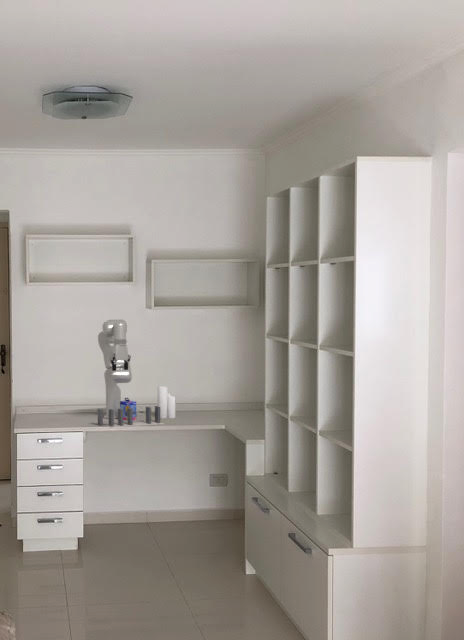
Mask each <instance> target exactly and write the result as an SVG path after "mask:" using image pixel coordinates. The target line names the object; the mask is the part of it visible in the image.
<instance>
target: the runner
mask: <svg viewBox="0 0 464 640" xmlns="http://www.w3.org/2000/svg"><path fill="white" fill-rule="evenodd" d="M152 425H153V426H154V425H155V426H156V425H165V423H164V422H161V421H160V423H156V422H155V420H154V421H151V424H147V423H146V421H143V422H142V421H141V422H140V421H139V422H133V425H128V424H127V422H126V423H125V422H124V423H123V426H120V425H118V423H114V426H113V427H111V426H109V424H104V426H106V427H108V428H121V427H122V428H124V427H125V428H126V427H136V426H137V427H140V426H152Z"/></svg>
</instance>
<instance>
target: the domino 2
mask: <svg viewBox="0 0 464 640" xmlns="http://www.w3.org/2000/svg"><path fill="white" fill-rule="evenodd" d="M114 424H115V418H114V410H113V409H109V418H108V425H109V426H111V427H113V426H114ZM113 428H114V427H113Z"/></svg>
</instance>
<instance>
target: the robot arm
mask: <svg viewBox="0 0 464 640" xmlns="http://www.w3.org/2000/svg"><path fill="white" fill-rule="evenodd" d="M127 331H128V324H127V321H126V320H125V319H108V320H106V321H103V323H102V331H101V332H99V333H98V334H97V339H98V340H97V343H98V345H99V348H100V350H101V352H102V355H103V361H104V366H105V368H106V369H105V371H104V375H103V377H104V382H105V384H104V385H105V414H104V415H103V419H109V409H113V410H114V419H118V408H120V401H122V393H121V391H122V390H121V388H120V387H119V385H118V384H128V383H130V382H131V381H132V379H133V378H132V377H133V376H132V375H133V374H132V369H131V364H130V363H131V359H132V356H131V355H130V354H129V353H128V352H129V351H128V345H127V342H128V340H127Z"/></svg>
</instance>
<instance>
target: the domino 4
mask: <svg viewBox="0 0 464 640" xmlns="http://www.w3.org/2000/svg"><path fill="white" fill-rule="evenodd" d="M126 423H127V424H128V425H133V423H134V421H133V409H132V408H127V422H126Z"/></svg>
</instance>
